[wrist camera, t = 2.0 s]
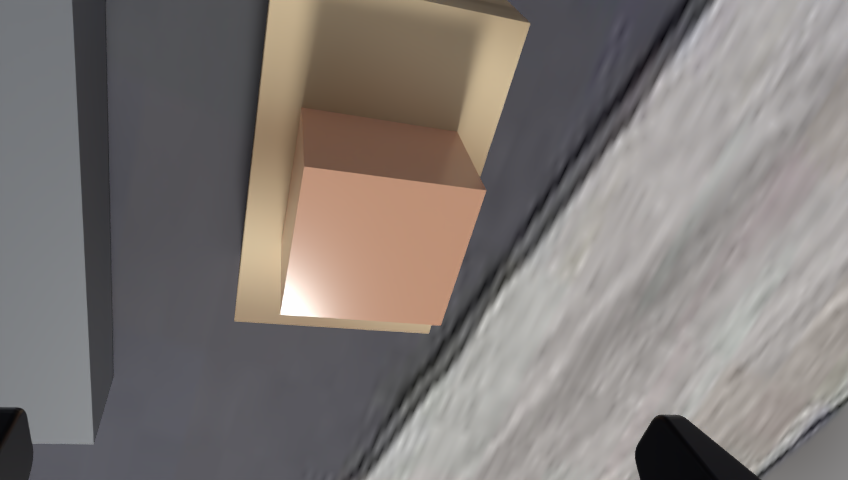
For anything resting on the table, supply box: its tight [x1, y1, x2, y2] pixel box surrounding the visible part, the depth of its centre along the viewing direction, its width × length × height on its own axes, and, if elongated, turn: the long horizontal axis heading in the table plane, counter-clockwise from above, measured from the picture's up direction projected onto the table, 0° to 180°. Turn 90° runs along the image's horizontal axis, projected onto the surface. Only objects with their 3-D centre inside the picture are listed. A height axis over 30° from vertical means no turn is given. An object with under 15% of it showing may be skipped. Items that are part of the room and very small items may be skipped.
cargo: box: [280, 107, 486, 326], centre depth 16 cm, size 4×4×3 cm
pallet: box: [234, 0, 530, 334], centre depth 19 cm, size 10×6×4 cm, turn 166°
